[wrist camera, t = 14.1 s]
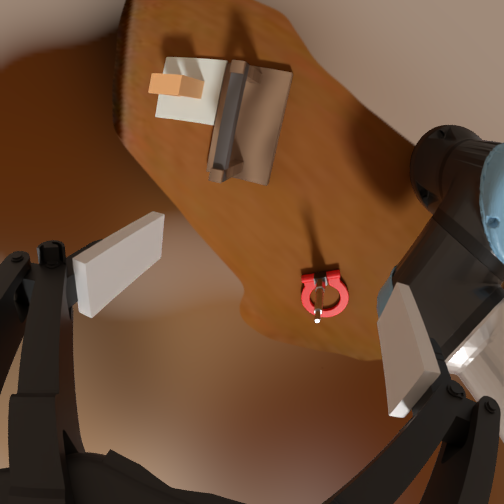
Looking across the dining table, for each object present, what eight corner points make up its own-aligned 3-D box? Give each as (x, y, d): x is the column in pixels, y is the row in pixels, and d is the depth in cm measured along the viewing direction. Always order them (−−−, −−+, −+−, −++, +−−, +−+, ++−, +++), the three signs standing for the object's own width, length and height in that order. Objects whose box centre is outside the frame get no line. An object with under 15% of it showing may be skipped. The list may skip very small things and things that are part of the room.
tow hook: (350, 310, 53) (344, 266, 49) (352, 360, 41) (347, 312, 38) (306, 316, 55) (296, 273, 52) (298, 365, 44) (286, 319, 41)
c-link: (204, 81, 42) (182, 74, 35) (201, 99, 43) (178, 95, 36) (177, 79, 43) (152, 73, 36) (174, 96, 44) (148, 92, 37)
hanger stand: (293, 74, 39) (281, 57, 29) (268, 184, 47) (250, 200, 37) (230, 64, 41) (202, 48, 30) (209, 169, 48) (177, 182, 38)
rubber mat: (228, 61, 40) (226, 60, 40) (214, 125, 45) (213, 125, 45) (168, 57, 42) (166, 56, 41) (156, 116, 47) (155, 116, 46)
